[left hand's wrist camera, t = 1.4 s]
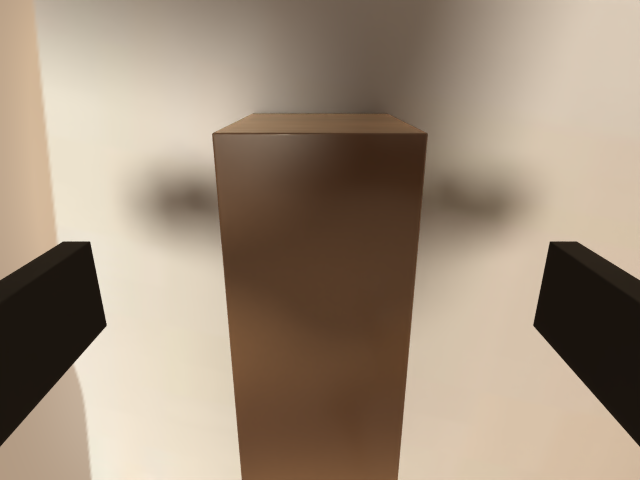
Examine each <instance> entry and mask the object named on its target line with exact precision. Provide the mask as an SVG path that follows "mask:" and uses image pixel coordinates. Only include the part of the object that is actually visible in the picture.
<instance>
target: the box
mask: <svg viewBox="0 0 640 480" xmlns="http://www.w3.org/2000/svg"><path fill="white" fill-rule="evenodd" d="M212 137H213V149H214V160H215V172H216V184H217V195H218V207H219V219H220V230H221V242H222V254H223V265H224V277H225V289H226V301H227V312H228V324H229V336H230V347H231V359H232V371H233V382H234V394H235V406H236V417H237V429H238V441H239V452H240V464H241V476H242V480H398V469H399V458H400V446H401V435H402V424H403V412H404V401H405V389H406V378H407V366H408V355H409V343H410V332H411V320H412V309H413V297H414V286H415V274H416V263H417V252H418V240H419V229H420V217H421V206H422V194H423V183H424V171H425V160H426V148H427V137H428V134H427V133H425V132H423V131H421V130H419V129H417V128H415V127H413V126H411V125H409V124H407V123H405V122H403V121H401V120H399V119H397V118H395V117H393V116H391V115H389V114H251V115H249V116H247V117H245V118H243V119H241V120H239V121H237V122H235V123H233V124H231V125H229V126H227V127H224V128H222V129H220V130H218V131H216V132H214V133H213V134H212Z"/></svg>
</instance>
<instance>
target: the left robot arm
mask: <svg viewBox="0 0 640 480" xmlns="http://www.w3.org/2000/svg"><path fill="white" fill-rule="evenodd" d="M106 326H107V324H106V319H105V314H104V309H103V304H102V299H101V294H100V289H99V284H98V279H97V274H96V269H95V264H94V259H93V254H92V249H91V244H90V242H62V243H60V244H59V245H57V246H55V247H54V248H52V249H50V250H49V251H47V252H46V253H44V254H42V255H41V256H39V257H37V258H36V259H34V260H33V261H31V262H29V263H28V264H26V265H24V266H23V267H21V268H20V269H18V270H16V271H15V272H13V273H12V274H10V275H8V276H7V277H5V278H3V279H2V280H0V446H1V445H2V444H3V443H4V442H5V441H6V439H7V438H8V437H9V436H10V435H11V434H12V433H13V431H14V430H15V429H16V428H17V427H18V426H19V425H20V423H21V422H22V421H23V420H24V419H25V418H26V417H27V415H28V414H29V413H30V412H31V411H32V410H33V409H34V408H35V406H36V405H37V404H38V403H39V402H40V401H41V400H42V398H43V397H44V396H45V395H46V394H47V393H48V392H49V391H50V389H51V388H52V387H53V386H54V385H55V384H56V383H57V381H58V380H59V379H60V378H61V377H62V376H63V375H64V373H65V372H66V371H67V370H68V369H69V368H70V367H71V366H72V364H73V363H74V362H75V361H76V360H77V359H78V358H79V357H80V355H81V354H82V353H83V352H84V351H85V350H86V349H87V347H88V346H89V345H90V344H91V343H92V342H93V341H94V339H95V338H96V337H97V336H98V335H99V334H100V333H101V332H102V330H103V329H104V328H105V327H106ZM533 326H534V327H535V328H536V329H537V330H538V332H539V333H540V334H541V335H542V336H543V337H544V338H545V339H546V341H547V342H548V343H549V344H550V345H551V346H552V347H553V349H554V350H555V351H556V352H557V353H558V354H559V355H560V357H561V358H562V359H563V360H564V361H565V362H566V363H567V364H568V366H569V367H570V368H571V369H572V370H573V371H574V372H575V374H576V375H577V376H578V377H579V378H580V379H581V380H582V381H583V383H584V384H585V385H586V386H587V387H588V388H589V389H590V391H591V392H592V393H593V394H594V395H595V396H596V397H597V399H598V400H599V401H600V402H601V403H602V404H603V405H604V406H605V408H606V409H607V410H608V411H609V412H610V413H611V414H612V416H613V417H614V418H615V419H616V420H617V421H618V422H619V423H620V425H621V426H622V427H623V428H624V429H625V430H626V431H627V433H628V434H629V435H630V436H631V437H632V438H633V439H634V441H635V442H636V443H637V444H638V445H639V446H640V280H638V279H637V278H635V277H633V276H632V275H630V274H629V273H627V272H625V271H624V270H622V269H620V268H619V267H617V266H616V265H614V264H612V263H611V262H609V261H607V260H606V259H604V258H603V257H601V256H599V255H598V254H596V253H594V252H593V251H591V250H590V249H588V248H586V247H585V246H583V245H581V244H580V243H578V242H550V244H549V249H548V254H547V259H546V264H545V269H544V274H543V279H542V284H541V289H540V294H539V299H538V304H537V309H536V314H535V319H534V324H533Z"/></svg>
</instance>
